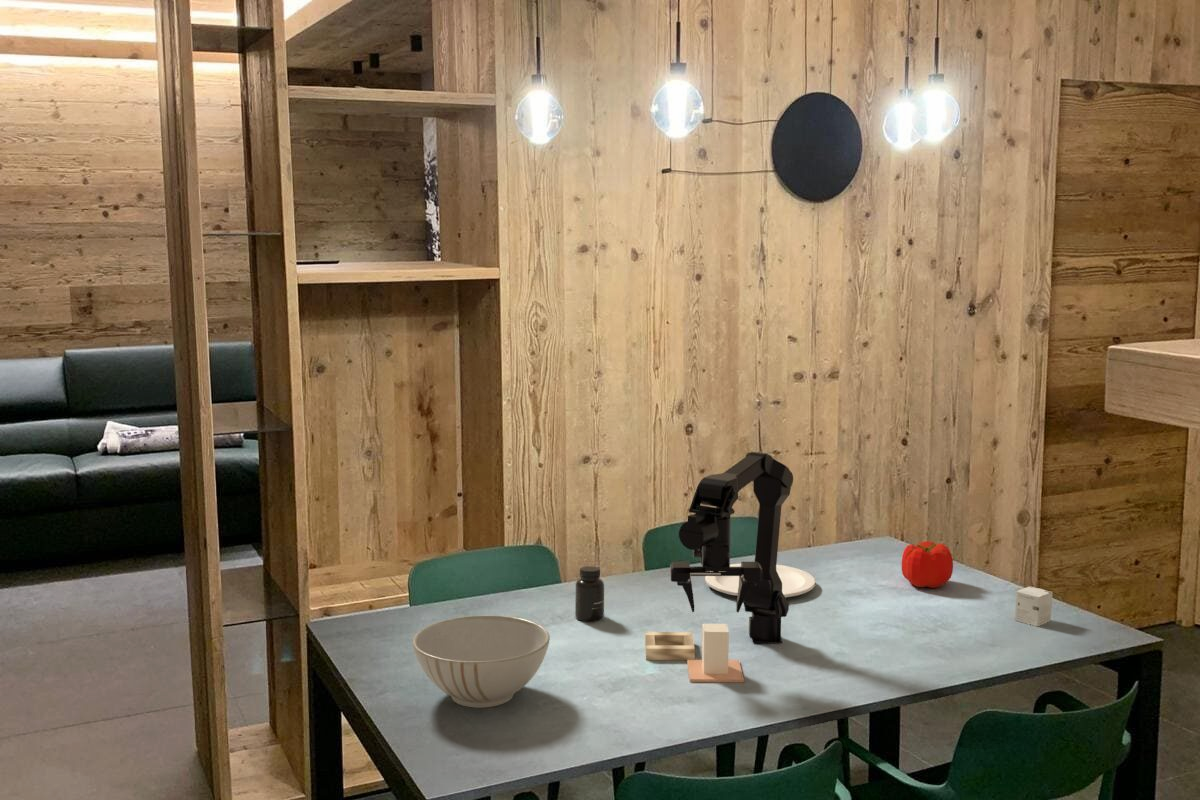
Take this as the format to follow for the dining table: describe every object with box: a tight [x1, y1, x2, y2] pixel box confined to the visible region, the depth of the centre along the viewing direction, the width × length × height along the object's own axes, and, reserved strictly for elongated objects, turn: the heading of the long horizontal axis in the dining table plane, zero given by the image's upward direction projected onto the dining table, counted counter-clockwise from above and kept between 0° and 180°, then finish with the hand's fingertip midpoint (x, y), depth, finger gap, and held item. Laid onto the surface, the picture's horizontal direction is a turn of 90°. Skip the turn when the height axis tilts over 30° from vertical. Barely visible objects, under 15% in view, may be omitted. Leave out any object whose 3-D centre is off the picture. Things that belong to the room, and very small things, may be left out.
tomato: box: [901, 540, 954, 589], centre depth 307 cm, size 14×13×10 cm
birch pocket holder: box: [644, 631, 696, 661], centre depth 261 cm, size 10×10×2 cm
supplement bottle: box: [574, 565, 605, 623], centre depth 282 cm, size 7×7×12 cm
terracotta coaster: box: [686, 659, 745, 683], centre depth 249 cm, size 11×11×1 cm
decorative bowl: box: [412, 614, 550, 709], centre depth 236 cm, size 27×27×12 cm
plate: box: [704, 562, 816, 598], centre depth 307 cm, size 28×28×2 cm
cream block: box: [701, 623, 730, 674], centre depth 248 cm, size 5×5×9 cm
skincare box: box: [1014, 586, 1054, 627], centre depth 279 cm, size 6×6×7 cm
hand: (715, 611), depth 247 cm, fingers open, 9 cm apart
